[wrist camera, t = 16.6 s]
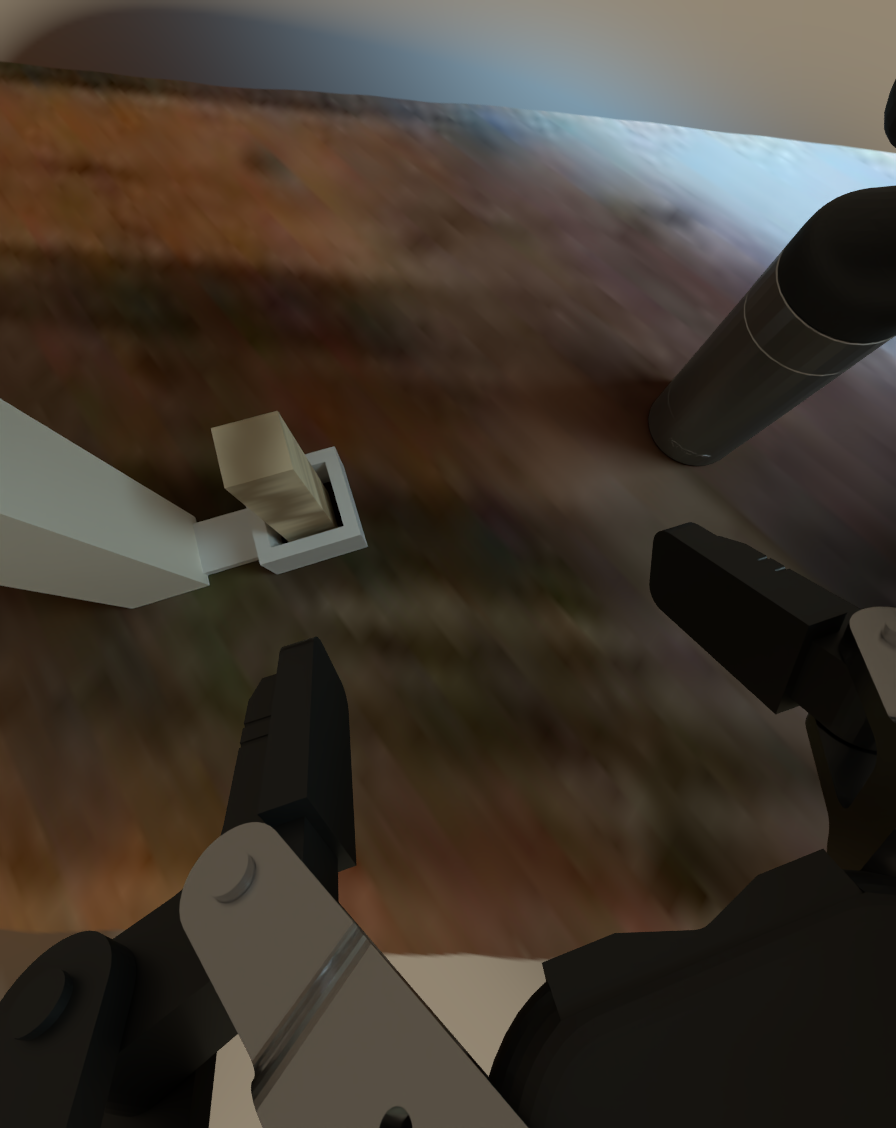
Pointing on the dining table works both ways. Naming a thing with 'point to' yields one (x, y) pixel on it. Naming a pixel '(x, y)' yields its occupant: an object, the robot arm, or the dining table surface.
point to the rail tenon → (273, 476)
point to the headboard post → (131, 525)
